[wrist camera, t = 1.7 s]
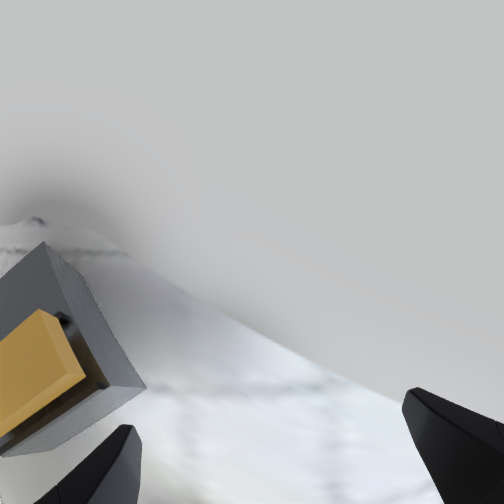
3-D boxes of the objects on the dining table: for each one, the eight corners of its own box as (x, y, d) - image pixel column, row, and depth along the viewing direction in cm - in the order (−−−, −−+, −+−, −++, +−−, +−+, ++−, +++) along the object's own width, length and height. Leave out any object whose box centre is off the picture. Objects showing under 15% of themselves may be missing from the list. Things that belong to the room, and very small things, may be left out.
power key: (86, 376, 13) (67, 373, 11) (-13, 446, 10) (-32, 446, 8) (57, 318, 15) (38, 308, 13) (-33, 395, 11) (-51, 392, 9)
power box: (147, 388, 21) (104, 384, 14) (51, 450, 17) (-4, 458, 10) (78, 267, 25) (35, 226, 18) (-1, 333, 21) (-51, 310, 14)
